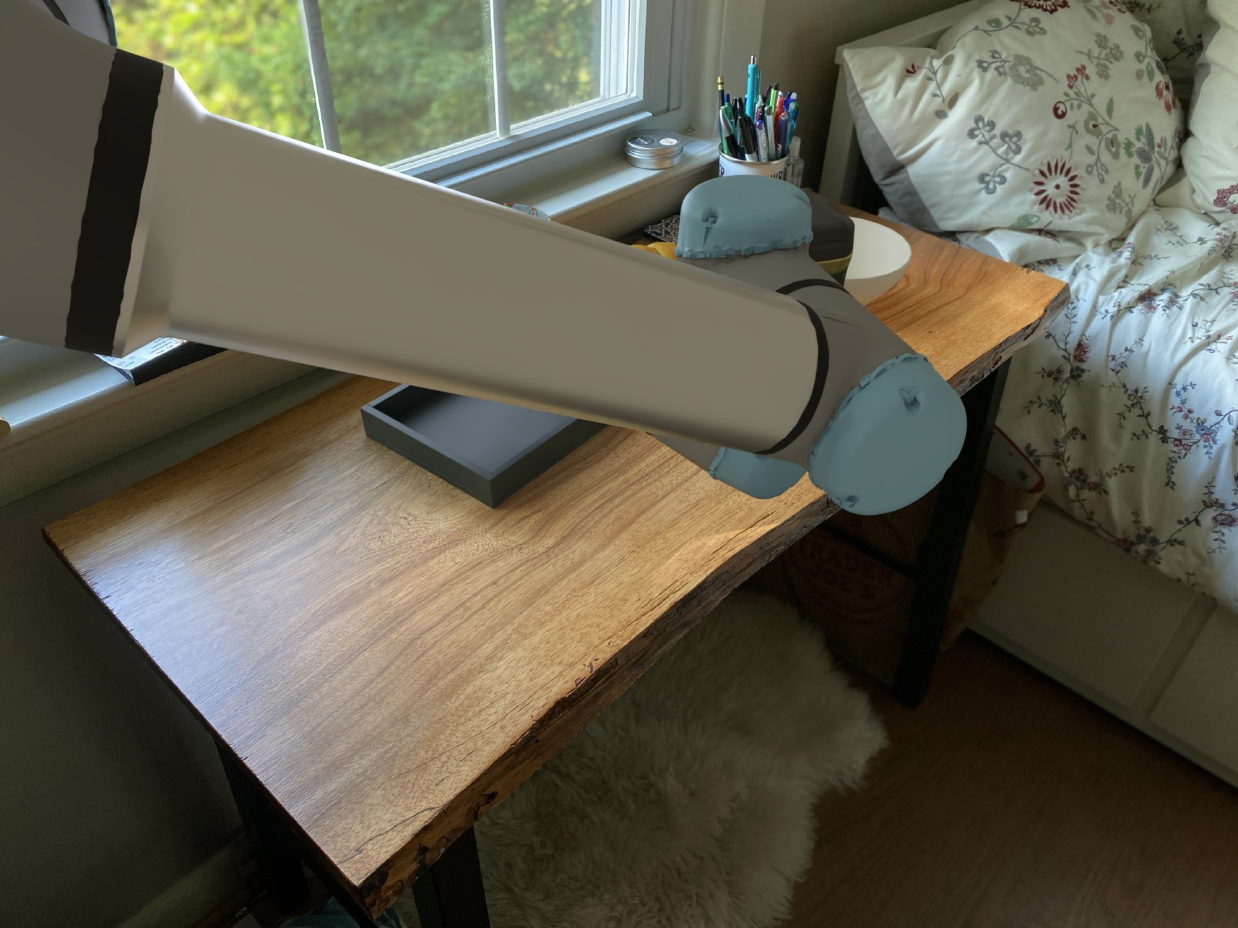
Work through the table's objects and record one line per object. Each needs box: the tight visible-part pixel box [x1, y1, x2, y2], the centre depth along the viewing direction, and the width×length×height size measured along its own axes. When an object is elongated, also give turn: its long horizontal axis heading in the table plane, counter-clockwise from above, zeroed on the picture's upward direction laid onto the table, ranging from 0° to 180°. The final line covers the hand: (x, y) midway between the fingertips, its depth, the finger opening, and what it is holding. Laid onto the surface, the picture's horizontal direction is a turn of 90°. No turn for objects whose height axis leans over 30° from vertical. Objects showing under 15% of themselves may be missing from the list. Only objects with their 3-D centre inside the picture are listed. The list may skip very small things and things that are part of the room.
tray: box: [359, 383, 610, 510], centre depth 86 cm, size 18×17×3 cm
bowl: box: [844, 216, 913, 307], centre depth 103 cm, size 16×16×7 cm
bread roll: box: [629, 241, 678, 261], centre depth 109 cm, size 8×9×4 cm
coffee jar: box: [799, 187, 855, 287], centre depth 87 cm, size 10×8×19 cm
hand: (452, 260), depth 80 cm, fingers closed on mug, 11 cm apart
